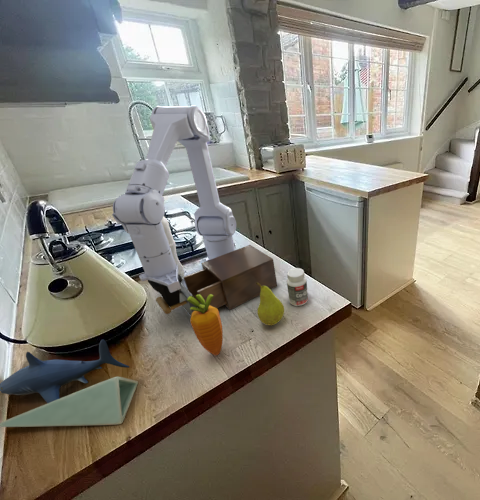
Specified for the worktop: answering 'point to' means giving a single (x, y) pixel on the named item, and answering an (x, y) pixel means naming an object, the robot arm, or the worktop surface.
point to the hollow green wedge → (82, 407)
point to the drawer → (197, 291)
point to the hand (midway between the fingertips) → (174, 304)
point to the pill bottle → (297, 287)
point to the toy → (53, 374)
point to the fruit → (269, 307)
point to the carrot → (207, 324)
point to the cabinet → (242, 274)
